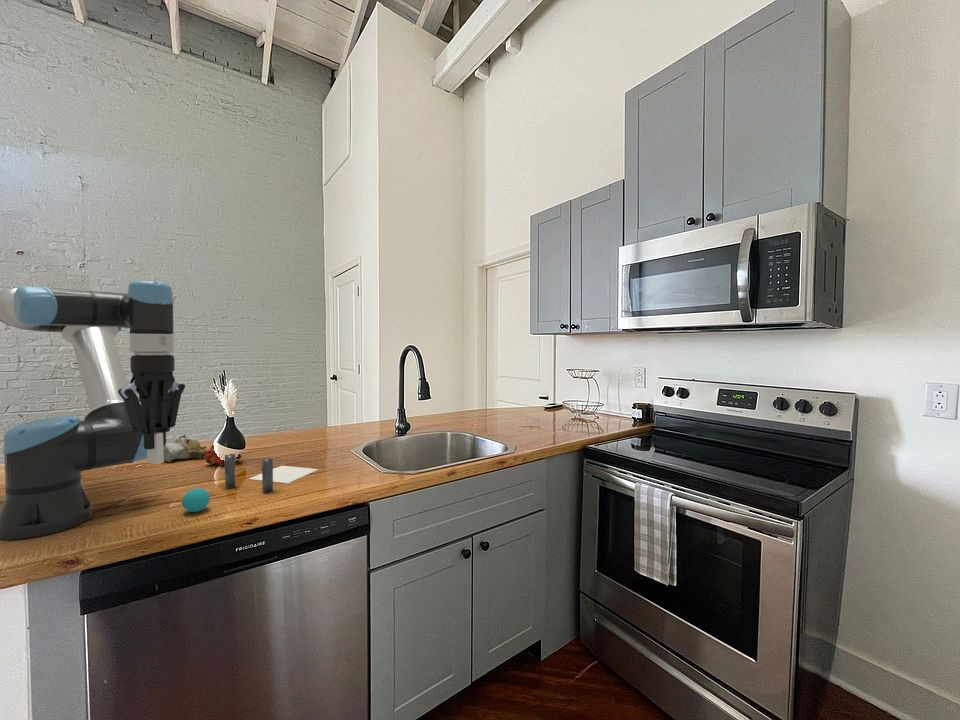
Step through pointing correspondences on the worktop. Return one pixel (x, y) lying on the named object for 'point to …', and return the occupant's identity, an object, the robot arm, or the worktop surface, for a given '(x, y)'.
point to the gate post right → (267, 475)
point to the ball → (195, 500)
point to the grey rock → (183, 449)
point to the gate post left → (230, 471)
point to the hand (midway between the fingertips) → (155, 462)
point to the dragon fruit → (214, 457)
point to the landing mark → (287, 474)
